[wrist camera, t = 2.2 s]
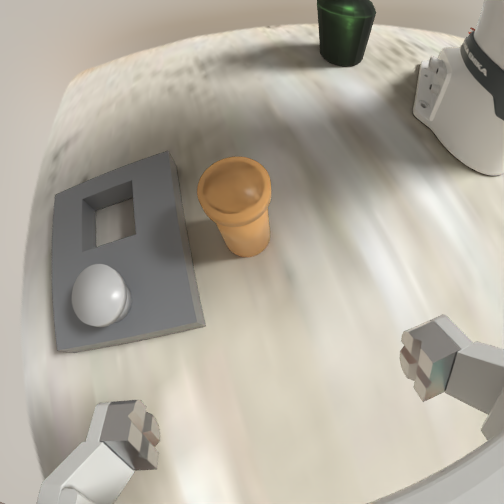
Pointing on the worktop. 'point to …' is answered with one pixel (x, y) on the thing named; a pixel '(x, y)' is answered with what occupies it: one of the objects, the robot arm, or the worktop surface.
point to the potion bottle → (344, 29)
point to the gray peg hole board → (123, 261)
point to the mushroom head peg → (238, 203)
